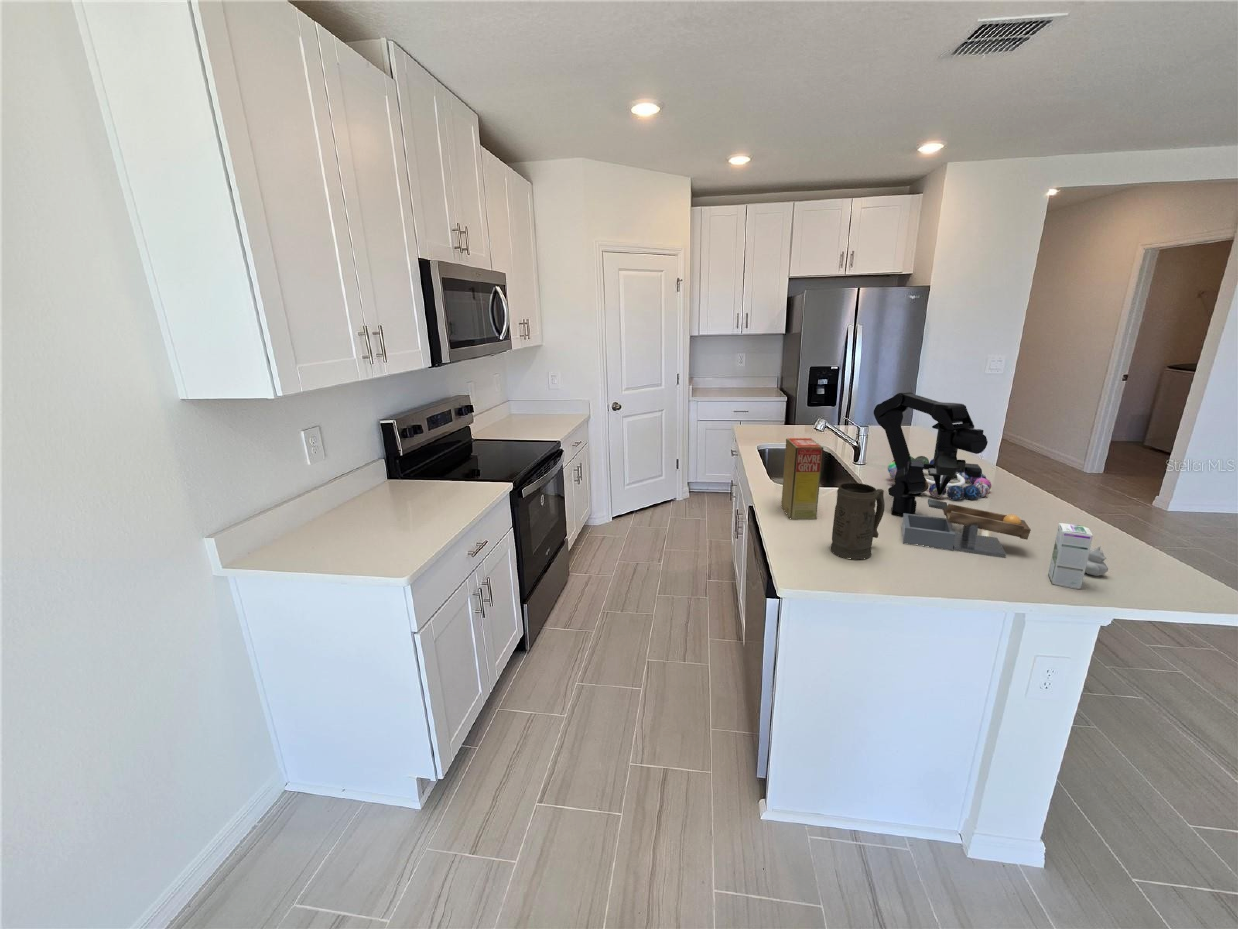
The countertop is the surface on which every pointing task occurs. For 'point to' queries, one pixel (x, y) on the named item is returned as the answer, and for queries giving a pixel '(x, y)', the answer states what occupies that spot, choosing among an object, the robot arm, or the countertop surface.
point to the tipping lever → (980, 519)
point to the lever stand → (977, 542)
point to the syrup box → (1070, 555)
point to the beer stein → (856, 520)
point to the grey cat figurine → (1096, 563)
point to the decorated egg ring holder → (953, 484)
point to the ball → (1012, 519)
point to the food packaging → (801, 478)
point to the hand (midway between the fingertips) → (939, 494)
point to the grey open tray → (927, 531)
